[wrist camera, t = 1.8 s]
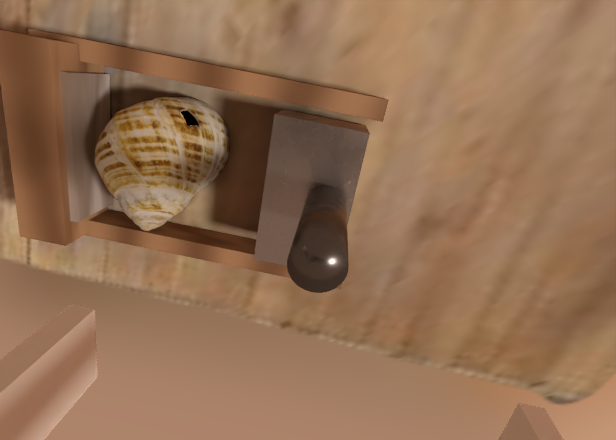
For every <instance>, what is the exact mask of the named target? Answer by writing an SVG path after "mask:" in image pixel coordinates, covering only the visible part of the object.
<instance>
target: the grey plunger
mask: <svg viewBox="0 0 616 440" xmlns="http://www.w3.org/2000/svg"><path fill="white" fill-rule="evenodd" d="M369 134H370V133H369V131H368V129H367V128H366V126H365V125H360V124H355V123H350V122H345V121H340V120H335V119H330V118H325V117H320V116H315V115H310V114H305V113H300V112H295V111H290V110H282V111H280V112H278V113H276V114H274V120H273V127H272V134H271V141H270V148H269V155H268V162H267V169H266V176H265V183H264V190H263V197H262V204H261V211H260V218H259V225H258V232H257V239H256V246H255V253H254V259H256V260H261V261H265V262H270V263H275V264H280V265H285V266H287V269H288V273H289V275H290V277H291V279H292V280H293V281H294V282H295V283H296V284H297V285H298V286H299V287H301V288H303V289H305V290H307V291H310V292H317V293H321V292H327V291H330V290H333V289H335V288H336V287H338V286H339V285H340V284H341V283H342V282H343V281H344V279H345V278H346V276H347V273H348V240H347V224H348V220H349V216H350V212H351V207H352V203H353V199H354V195H355V191H356V187H357V183H358V179H359V175H360V171H361V166H362V162H363V158H364V154H365V150H366V146H367V142H368V138H369Z"/></svg>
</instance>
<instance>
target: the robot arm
mask: <svg viewBox="0 0 616 440" xmlns="http://www.w3.org/2000/svg"><path fill="white" fill-rule="evenodd" d="M96 378H97V353H96V331H95V310H94V309H91V308H87V307H82V306H77V305H73V304H70V305H69V306H68V307H66V308H65V309H64V310H62V311H61V312H60V313H59V314H58V315H56V316H55V317H54V318H52V319H51V320H50V321H49V322H47V323H46V324H45V325H44V326H42V327H41V328H40V329H39V330H37V331H36V332H35V333H33V334H32V335H31V336H30V337H29V338H27V339H26V340H25V341H23V342H22V343H21V344H20V345H18V346H17V347H16V348H15V349H13V350H12V351H11V352H10V353H8V354H7V355H6V356H4V357H3V358H2V359H1V360H0V440H44V439H45V438H46V437H47V435H48V434H49V433H50V432H51V431H52V430H53V428H54V427H55V426H56V425H57V424H58V422H59V421H60V420H61V419H62V418H63V417H64V416H65V414H66V413H67V412H68V411H69V410H70V409H71V407H72V406H73V405H74V404H75V403H76V401H77V400H78V399H79V398H80V397H81V396H82V394H83V393H84V392H85V391H86V390H87V389H88V387H89V386H90V385H91V384H92V383H93V382H94V380H95V379H96ZM499 440H564V439H563V438H562V436H561V435H560V433H559V432H558V430H557V428H556V427H555V425H554V423H553V422H552V420H551V418H550V417H549V415H548V414H547V412H546V410H545V409H544V408H540V407H535V406H531V405H526V404H521V403H519V404H518V405H517V407H516V409H515V411H514V413H513V414H512V416H511V418H510V420H509V422H508V424H507V425H506V427H505V429H504V431H503V433H502V434H501V436H500V438H499Z"/></svg>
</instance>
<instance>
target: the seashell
mask: <svg viewBox="0 0 616 440" xmlns="http://www.w3.org/2000/svg"><path fill="white" fill-rule="evenodd" d="M186 110H188V111H189V112H190V113H191V114H192V115H193V116H194V117H195V118H196V120H197V121H198V123H199V127H197V126H196V125H195V126H192V125H191V126H187V123H186V121H185V119H184V117H183V115H182V114H181V112H180V111H186ZM229 151H230V142H229V133H228V129H227V127H226V124H225V122H224V120H223V119H222V118H221V116H220V115H219V113H218V112H217V111H216V110H215V109H214V108H212V107H211V106H209V105H208V104H206V103H204V102H202V101H200V100H198V99H195V98H190V97H157V98H155V99H153V100H151V101H144V102H140V103H137V104H134V105H132V106H129V107H127V108H124V109H122V110H120V111H118V112H117V113H116V114H115V115H114V117H113V118H112V119H111V120H110V121H109V122H108V124H107V125H106V127H105V129H104V130H103V131H102V133H101V135H100V137H99V139H98V142H97V145H96V148H95V165H96V167H97V170H98V172H99V174H100V176H101V178H102V179H103V182H104V184H105V186H106V187H107V189H108V190H109V192H110V193H111V194H112V195H113V196H114V198H115V199H116V200H118V201H119V203H120V206H121V208H122V210H123V212H124V213H125V214H126V215H127V216H128V217H129V218H130V219H132V220H133V222H134V223H135V224H136V225H138V226H139V227H140V228H141V229H142V230H145V231H149V230H152V229H155V228H157V227H160V226H162V225H163V224H165V223H166V222H167V221H168V220H169V219H170V218H171V217H174V216H176V215H177V214H178V213H180V212H181V211H182V210H183V209H185V207H186V206H187V205H188V204H189V202H190V200H191V198H192V197H193V196H194V195H195V194H196V193H197V192H198V191H199V190H201V189H203V188H204V187H205V186H207V185H208V184H209V183H210V182H211V181H213V180H214V179H215V178H216V177H217V176H218V175H219V174H220V172H221V171H222V169H223V168H224V166H225V164H226V162H227V159H228V156H229Z"/></svg>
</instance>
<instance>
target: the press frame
mask: <svg viewBox="0 0 616 440" xmlns="http://www.w3.org/2000/svg"><path fill="white" fill-rule="evenodd" d="M28 31H29V34H24V33H18V32H12V31H5V30H0V85H1V92H2V100H3V108H4V116H5V123H6V131H7V139H8V146H9V154H10V162H11V170H12V177H13V185H14V193H15V201H16V208H17V216H18V224H19V231H20V236H21V237H26V238H31V239H36V240H41V241H45V242H50V243H55V244H60V245H64V246H66V245H67V244H69V243H71V242H73V241H74V240H76V239H78V238H79V237H81V236H83V235H87V236H92V237H96V238H101V239H106V240H111V241H116V242H120V243H125V244H130V245H135V246H140V247H144V248H149V249H154V250H159V251H164V252H168V253H173V254H178V255H183V256H188V257H192V258H197V259H202V260H207V261H212V262H216V263H221V264H226V265H231V266H236V267H240V268H245V269H250V270H255V271H260V272H264V273H269V274H274V275H279V276H284V277H288V278H291V277H290V275H289V273H288V269H287V266H285V265H280V264H275V263H270V262H265V261H261V260H256V259H254V253H255V246H256V240H253V239H248V238H243V237H238V236H233V235H228V234H224V233H219V232H214V231H209V230H204V229H199V228H195V227H190V226H185V225H180V224H175V223H171V222H166V223H165V224H163V225H162V226H160V227H157V228H155V229H152V230H149V231H145V230H142V229H141V228H140V227H139V226H138V225H136V224H135V223H134V222H133V220H132V219H130V218H129V217H128V216H127V215H126V214H125V213H122V212H117V211H113V210H108V206H110V205H112V204H113V202H112V194H111V193H110V192H109V190H108V189H107V187H106V186H105V184H104V182H103V179H102V178H101V176H100V174H99V172H98V170H97V167H96V165H95V148H96V145H97V142H98V139H99V137H100V135H101V133H102V131H103V130H104V129H105V127H106V125H107V124H108V122H109V121H110V120H111V112H110V74H105V73H104V66H107V67H112V68H117V69H122V70H127V71H132V72H137V73H142V74H147V75H152V76H157V77H162V78H167V79H172V80H177V81H182V82H187V83H192V84H197V85H202V86H207V87H212V88H217V89H222V90H227V91H232V92H237V93H242V94H247V95H252V96H257V97H262V98H267V99H272V100H277V101H282V102H287V103H292V104H297V105H302V106H307V107H312V108H317V109H322V110H327V111H332V112H337V113H342V114H347V115H352V116H357V117H362V118H367V119H372V120H377V121H382V122H383V119H384V115H385V111H386V108H387V104H388V100H387V99H384V98H379V97H374V96H369V95H364V94H359V93H354V92H349V91H344V90H339V89H334V88H329V87H324V86H319V85H314V84H309V83H304V82H299V81H294V80H289V79H284V78H279V77H274V76H269V75H263V74H258V73H253V72H248V71H243V70H238V69H233V68H228V67H223V66H218V65H213V64H208V63H203V62H198V61H193V60H188V59H183V58H178V57H173V56H168V55H163V54H158V53H153V52H148V51H143V50H138V49H133V48H128V47H123V46H117V45H112V44H107V43H102V42H97V41H92V40H87V39H82V38H77V37H72V36H67V35H62V34H57V33H51V32H46V31H40V30H34V29H29V28H28ZM341 284H342V283H341ZM341 284H340V285H339V286H338V287H336V288H341Z"/></svg>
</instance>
